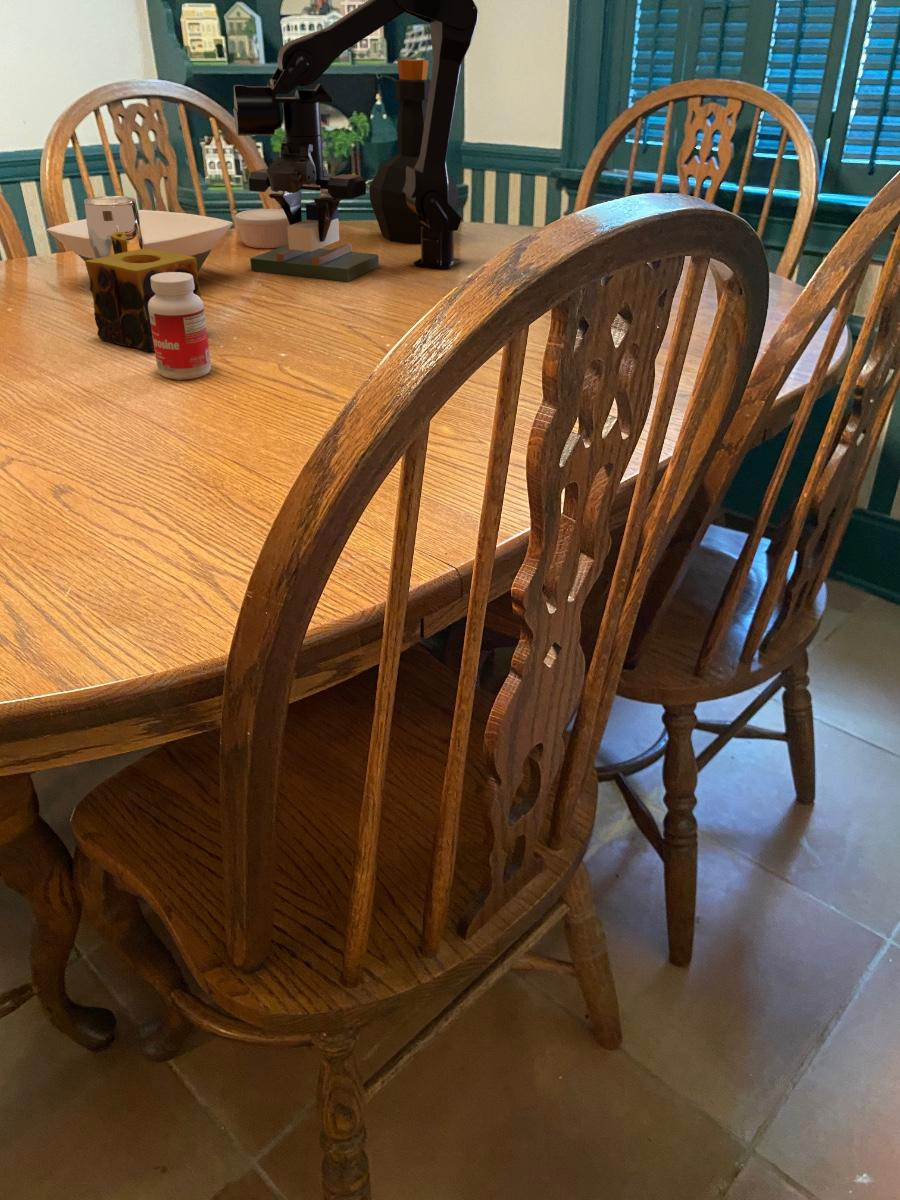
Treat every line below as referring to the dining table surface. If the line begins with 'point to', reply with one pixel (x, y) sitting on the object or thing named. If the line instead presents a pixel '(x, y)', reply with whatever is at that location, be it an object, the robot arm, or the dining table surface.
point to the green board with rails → (316, 263)
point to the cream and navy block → (312, 231)
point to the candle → (131, 292)
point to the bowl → (156, 234)
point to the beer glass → (113, 225)
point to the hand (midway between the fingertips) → (310, 240)
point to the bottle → (405, 157)
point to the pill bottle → (178, 327)
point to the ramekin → (263, 228)
